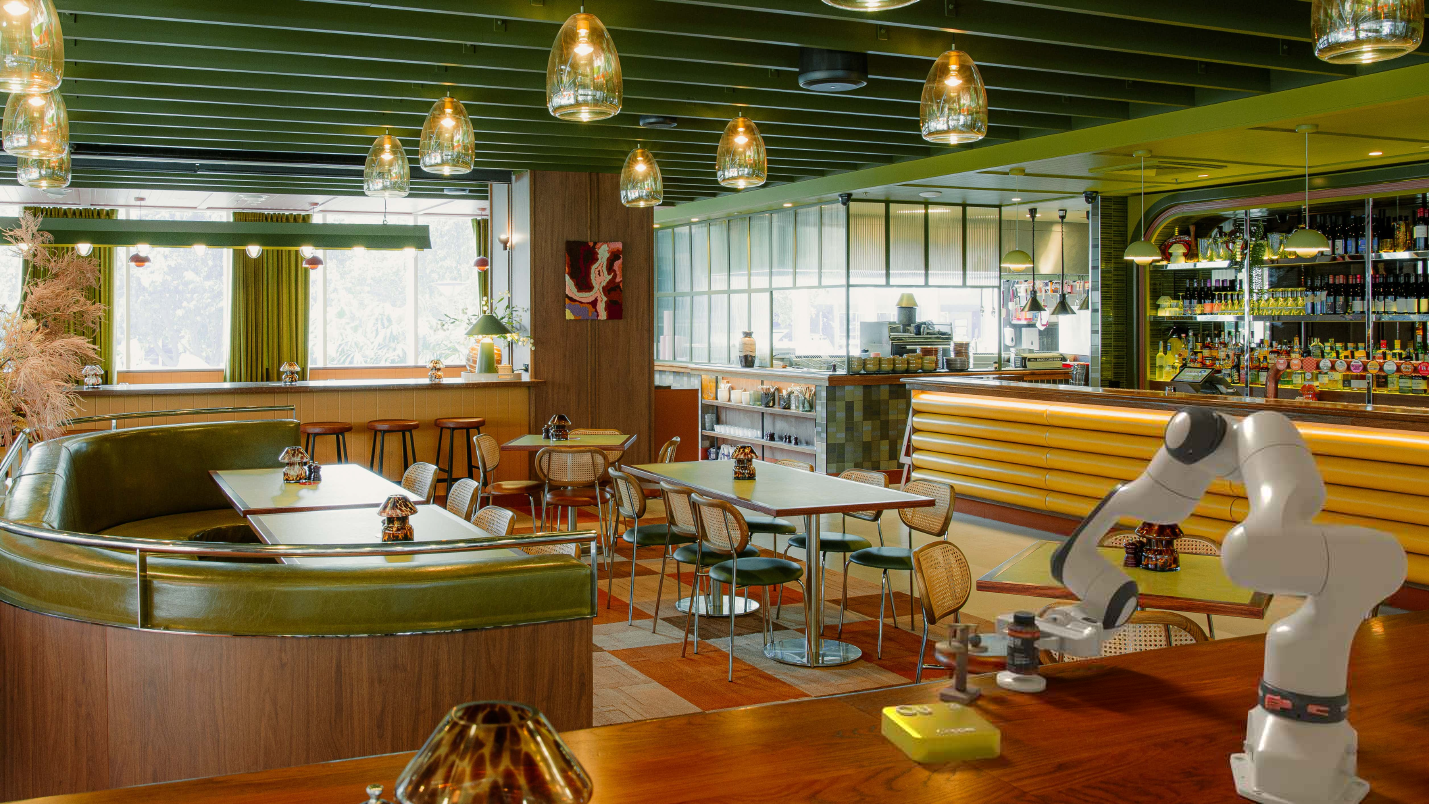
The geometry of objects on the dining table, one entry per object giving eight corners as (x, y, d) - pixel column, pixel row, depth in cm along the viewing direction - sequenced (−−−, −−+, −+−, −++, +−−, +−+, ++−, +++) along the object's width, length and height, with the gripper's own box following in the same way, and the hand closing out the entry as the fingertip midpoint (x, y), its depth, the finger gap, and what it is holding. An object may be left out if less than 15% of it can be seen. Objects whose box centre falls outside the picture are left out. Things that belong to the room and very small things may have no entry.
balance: (955, 713, 190) (959, 629, 189) (928, 707, 193) (932, 624, 192) (990, 686, 206) (993, 608, 205) (964, 680, 209) (968, 604, 208)
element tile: (917, 767, 167) (919, 736, 166) (876, 732, 181) (878, 703, 181) (1004, 759, 171) (1006, 729, 171) (957, 725, 185) (959, 698, 185)
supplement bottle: (1034, 667, 210) (1038, 610, 209) (1041, 677, 204) (1044, 618, 203) (1003, 665, 211) (1006, 608, 210) (1008, 675, 205) (1011, 616, 204)
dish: (1037, 695, 201) (1038, 689, 201) (990, 685, 206) (990, 679, 206) (1051, 683, 209) (1051, 677, 209) (1004, 674, 214) (1005, 668, 214)
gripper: (1020, 602, 223) (977, 611, 214) (1110, 625, 207) (1067, 636, 198) (1019, 633, 223) (975, 643, 215) (1108, 658, 207) (1065, 670, 199)
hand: (1020, 640), depth 206 cm, fingers closed on supplement bottle, 6 cm apart
